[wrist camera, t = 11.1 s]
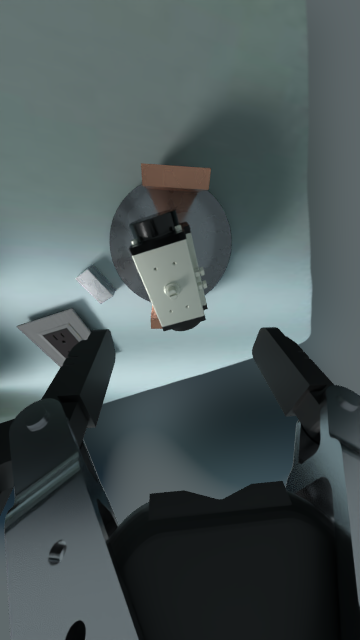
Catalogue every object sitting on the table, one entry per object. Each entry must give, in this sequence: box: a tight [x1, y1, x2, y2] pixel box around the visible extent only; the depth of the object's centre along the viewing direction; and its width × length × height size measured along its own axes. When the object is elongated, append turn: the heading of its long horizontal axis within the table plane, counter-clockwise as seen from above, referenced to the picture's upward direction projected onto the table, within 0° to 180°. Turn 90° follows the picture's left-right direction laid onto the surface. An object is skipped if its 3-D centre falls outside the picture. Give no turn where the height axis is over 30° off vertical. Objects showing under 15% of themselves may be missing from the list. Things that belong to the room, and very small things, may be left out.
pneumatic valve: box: [129, 209, 208, 331], centre depth 20 cm, size 6×12×12 cm, turn 16°
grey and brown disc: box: [110, 163, 232, 329], centre depth 23 cm, size 18×17×8 cm
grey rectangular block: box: [75, 265, 116, 304], centre depth 27 cm, size 5×2×2 cm, turn 31°
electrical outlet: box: [17, 308, 91, 367], centre depth 34 cm, size 13×10×2 cm
